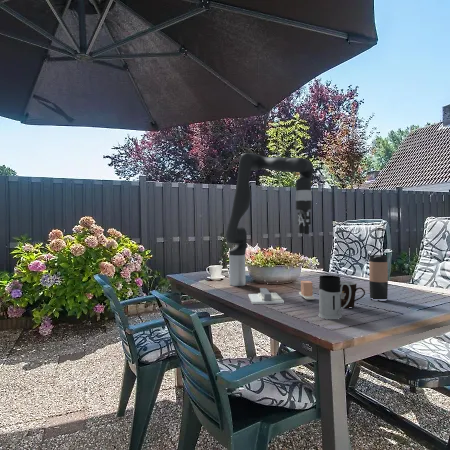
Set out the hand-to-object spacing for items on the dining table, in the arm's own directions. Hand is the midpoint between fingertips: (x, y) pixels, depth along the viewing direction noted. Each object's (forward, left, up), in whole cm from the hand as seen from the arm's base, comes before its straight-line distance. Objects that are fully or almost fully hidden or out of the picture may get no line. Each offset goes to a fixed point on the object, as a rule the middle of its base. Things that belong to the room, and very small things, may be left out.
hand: (303, 233), depth 162 cm
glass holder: (+38, +1, -30) cm, 49 cm away
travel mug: (+11, +31, -30) cm, 45 cm away
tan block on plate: (+6, -1, -29) cm, 30 cm away
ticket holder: (+6, -20, -30) cm, 37 cm away
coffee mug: (+23, +12, -30) cm, 40 cm away
